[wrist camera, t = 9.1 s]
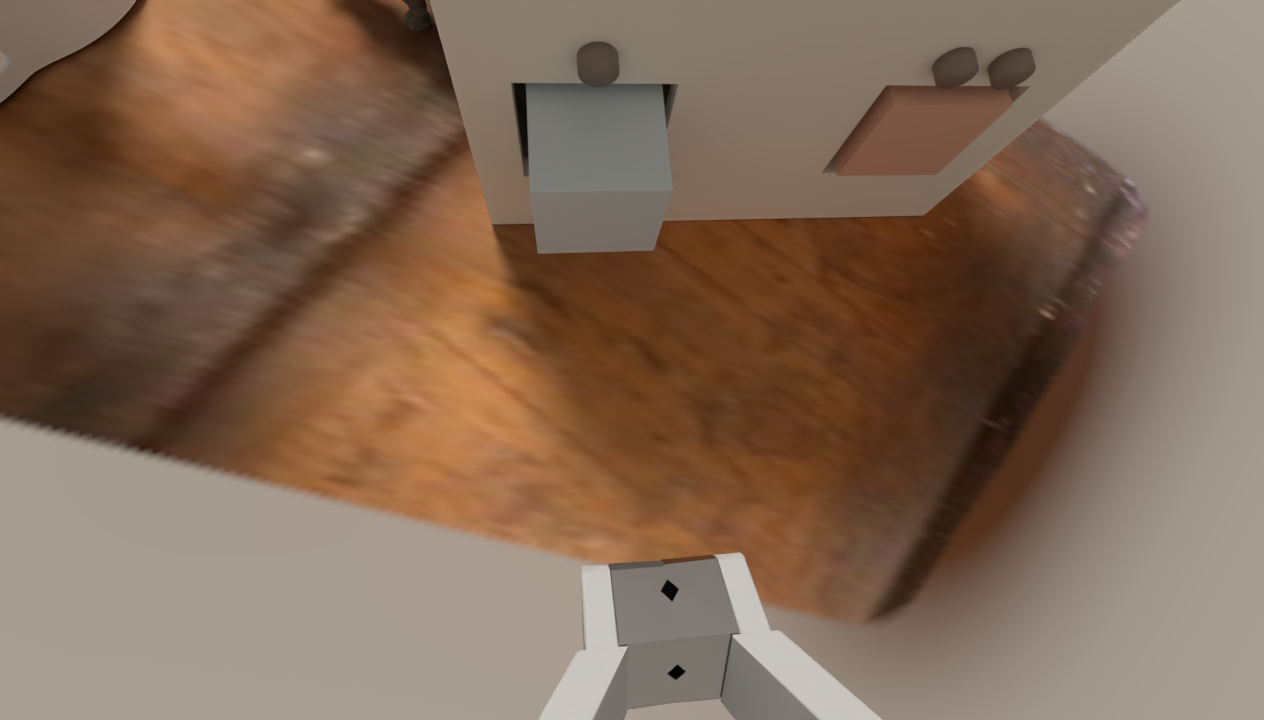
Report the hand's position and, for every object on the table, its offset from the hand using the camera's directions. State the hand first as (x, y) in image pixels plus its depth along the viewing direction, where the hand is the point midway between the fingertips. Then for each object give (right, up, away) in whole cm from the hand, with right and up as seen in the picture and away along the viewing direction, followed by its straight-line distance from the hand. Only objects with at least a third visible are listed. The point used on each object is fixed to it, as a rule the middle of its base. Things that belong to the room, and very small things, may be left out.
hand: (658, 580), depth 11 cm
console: (+4, +16, +22) cm, 28 cm away
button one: (-2, +13, +15) cm, 20 cm away
